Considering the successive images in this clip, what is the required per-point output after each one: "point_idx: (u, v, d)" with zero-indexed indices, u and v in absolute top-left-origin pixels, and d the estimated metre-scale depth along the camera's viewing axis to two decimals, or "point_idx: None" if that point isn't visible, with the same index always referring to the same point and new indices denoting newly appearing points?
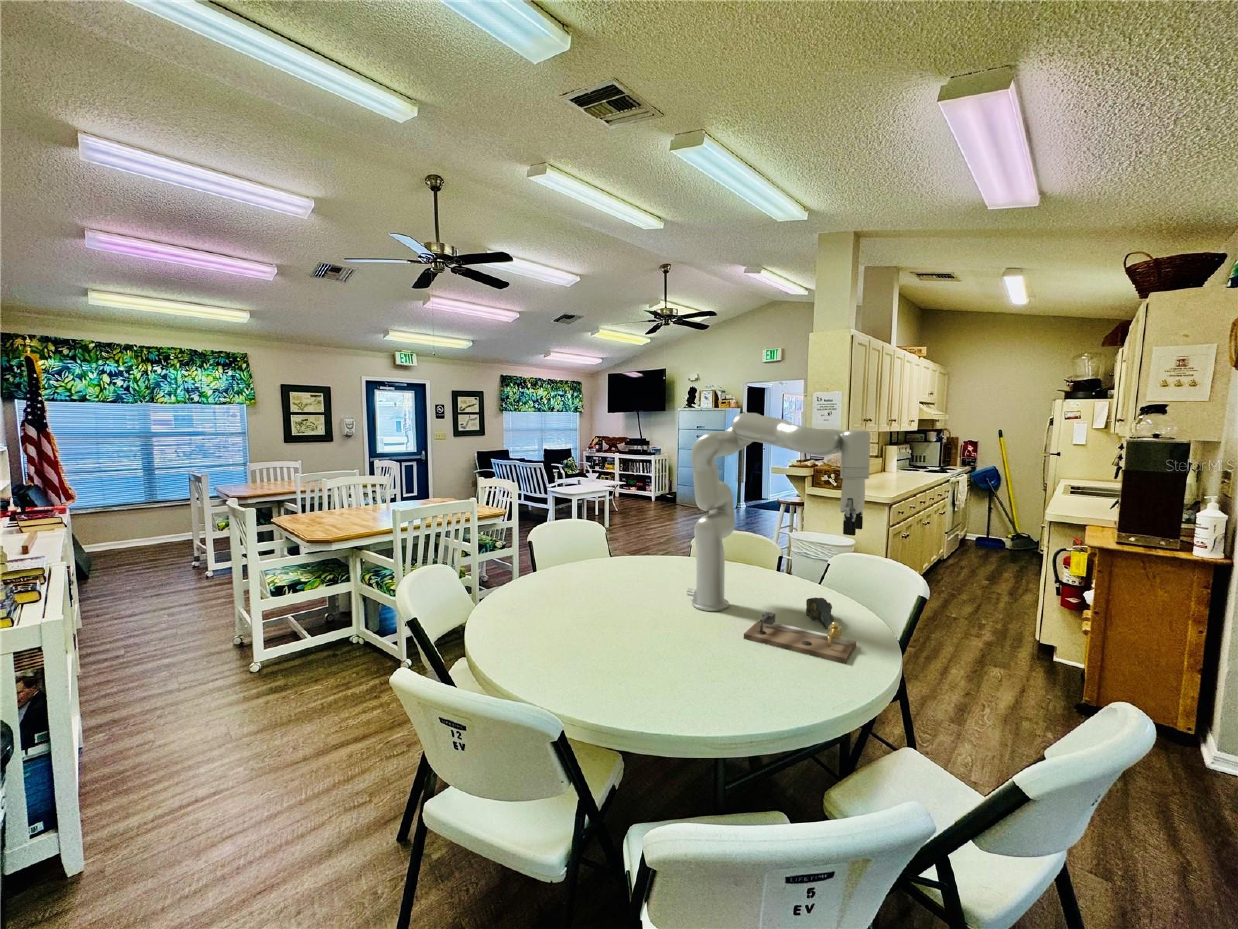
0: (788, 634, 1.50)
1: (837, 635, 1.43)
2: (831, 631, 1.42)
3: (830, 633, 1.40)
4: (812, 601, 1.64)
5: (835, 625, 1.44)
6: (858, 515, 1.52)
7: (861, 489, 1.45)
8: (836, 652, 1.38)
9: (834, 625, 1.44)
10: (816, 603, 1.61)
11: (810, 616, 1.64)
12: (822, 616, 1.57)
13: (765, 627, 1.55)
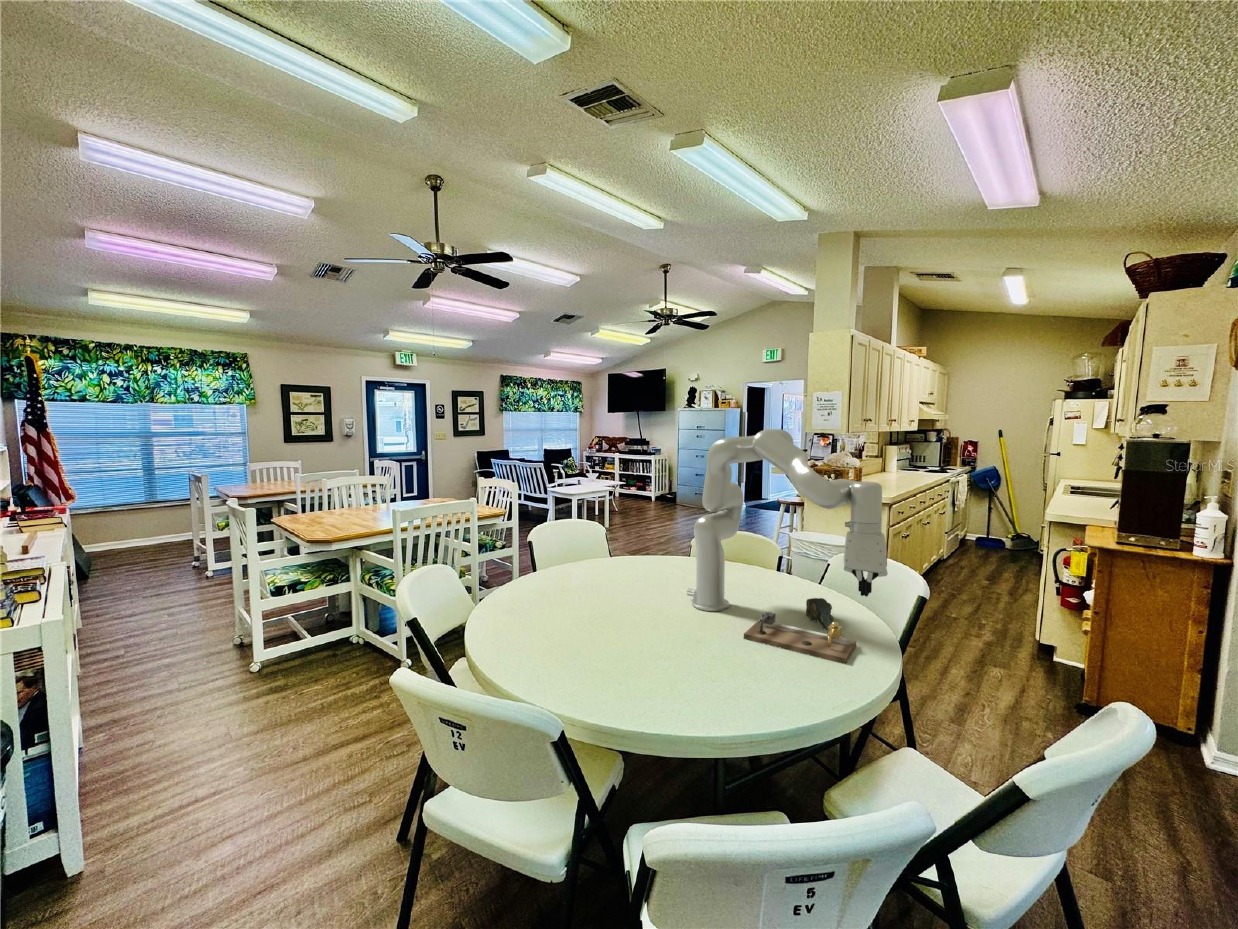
0: (788, 634, 1.50)
1: (837, 635, 1.43)
2: (831, 631, 1.42)
3: (830, 633, 1.40)
4: (812, 601, 1.64)
5: (835, 625, 1.44)
6: (864, 579, 1.40)
7: None
8: (836, 652, 1.38)
9: (834, 625, 1.44)
10: (816, 603, 1.61)
11: (810, 616, 1.64)
12: (822, 616, 1.56)
13: (765, 627, 1.55)
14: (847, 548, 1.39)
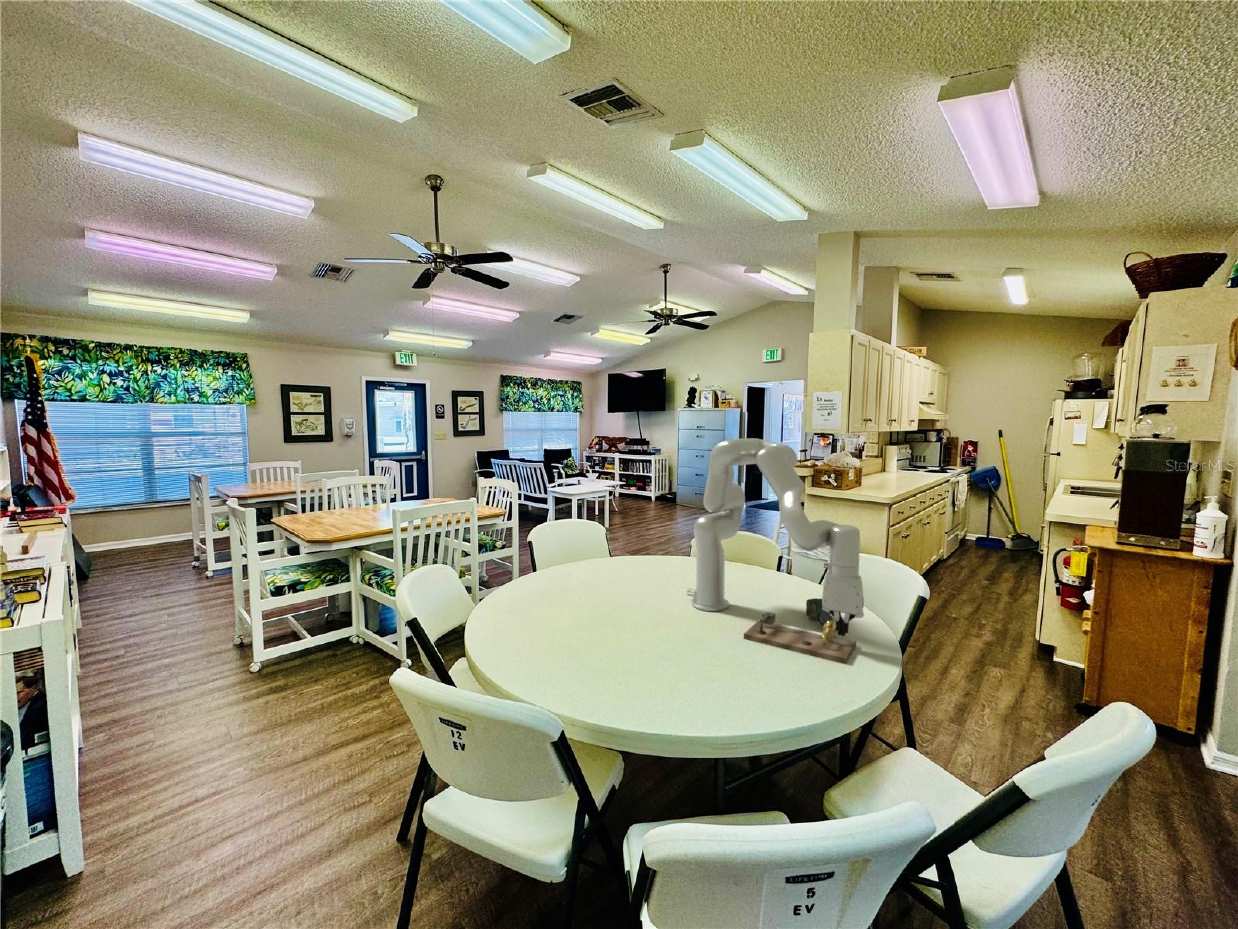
0: (788, 634, 1.50)
1: (832, 634, 1.44)
2: (826, 630, 1.42)
3: (825, 632, 1.41)
4: (812, 602, 1.64)
5: (830, 624, 1.45)
6: (842, 619, 1.44)
7: None
8: (836, 652, 1.38)
9: (829, 624, 1.45)
10: (815, 604, 1.61)
11: (810, 617, 1.63)
12: (821, 617, 1.56)
13: (765, 627, 1.55)
14: (825, 589, 1.43)
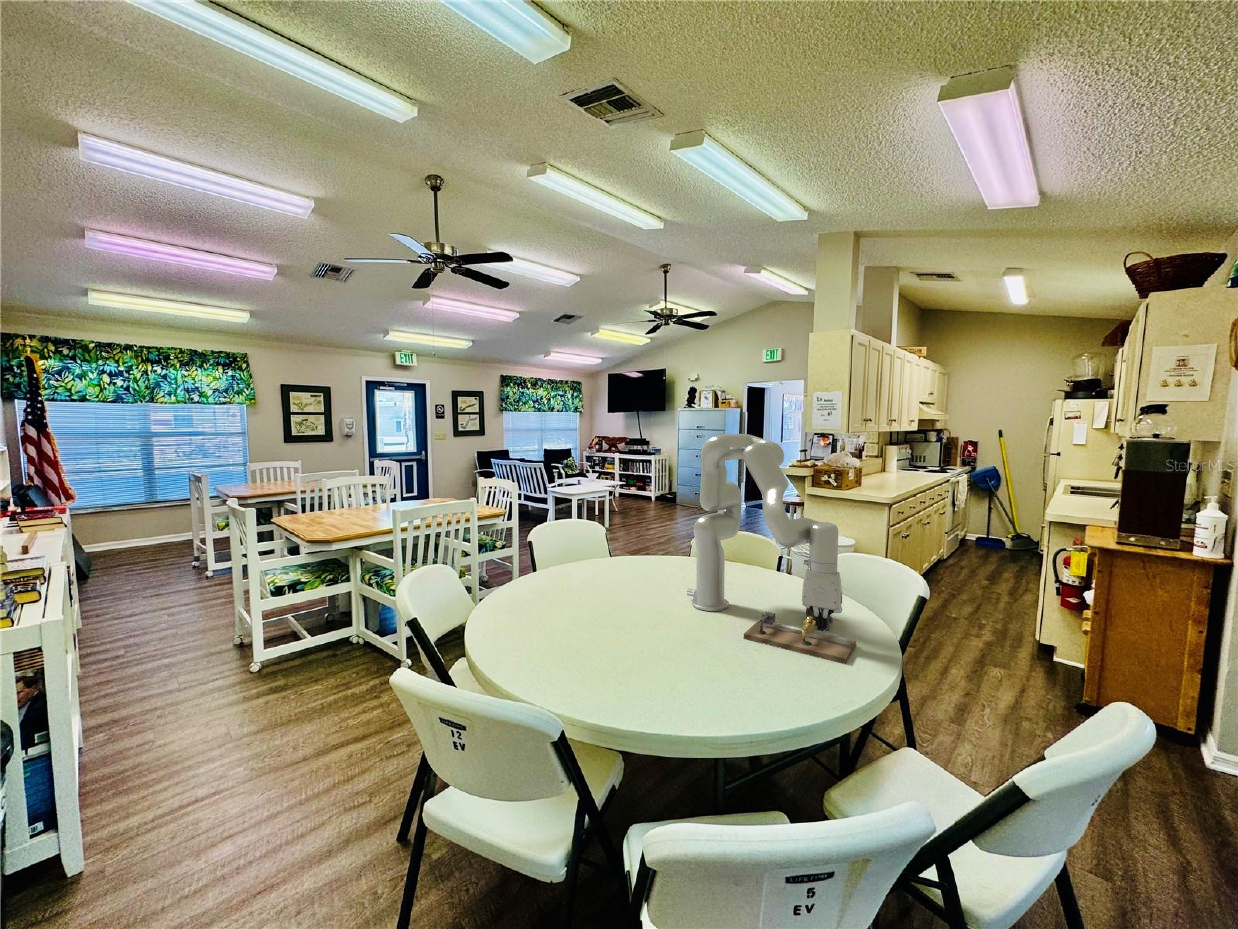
0: (788, 634, 1.50)
1: (812, 629, 1.47)
2: (805, 625, 1.46)
3: (804, 627, 1.44)
4: None
5: (810, 620, 1.48)
6: (821, 614, 1.47)
7: None
8: (836, 652, 1.38)
9: (809, 620, 1.48)
10: None
11: None
12: None
13: (765, 627, 1.55)
14: (805, 585, 1.46)
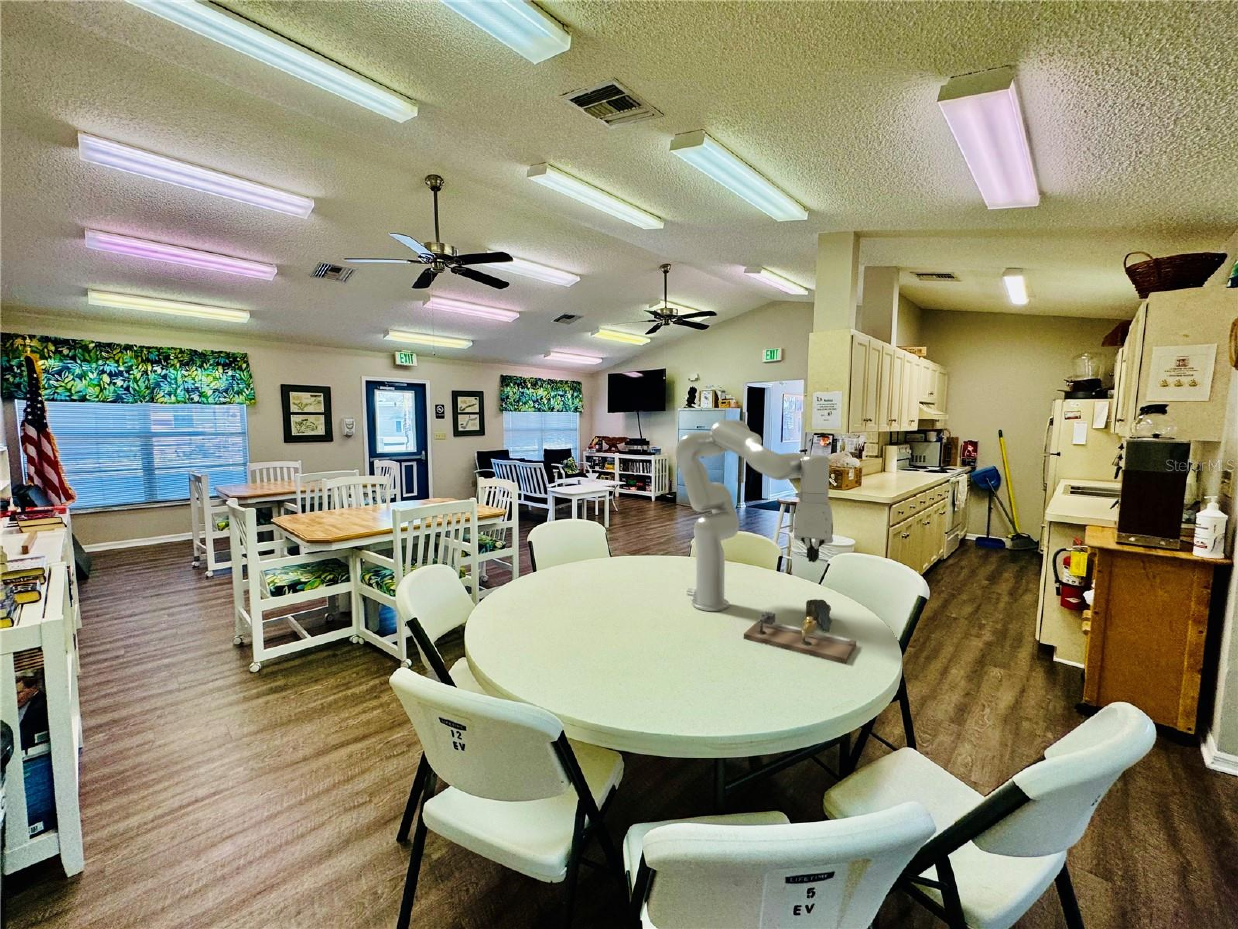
0: (788, 634, 1.50)
1: (811, 629, 1.47)
2: (805, 625, 1.46)
3: (804, 627, 1.44)
4: (811, 603, 1.63)
5: (810, 620, 1.48)
6: (812, 546, 1.49)
7: None
8: (836, 652, 1.38)
9: (809, 620, 1.48)
10: (815, 605, 1.60)
11: None
12: (819, 618, 1.55)
13: (765, 627, 1.55)
14: (796, 517, 1.48)
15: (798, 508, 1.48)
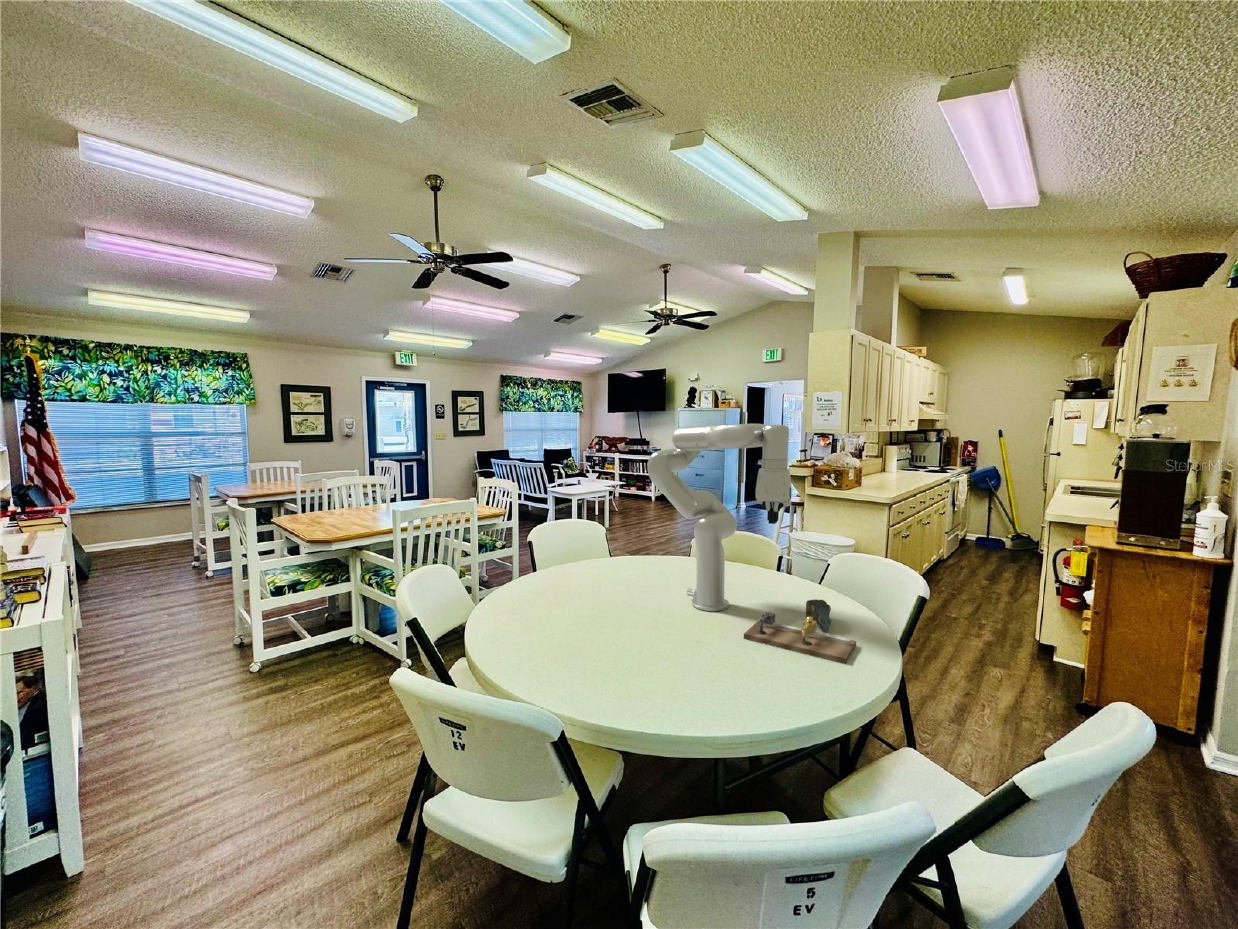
0: (788, 634, 1.50)
1: (811, 629, 1.47)
2: (805, 625, 1.46)
3: (804, 627, 1.44)
4: (811, 603, 1.63)
5: (810, 620, 1.48)
6: None
7: None
8: (836, 652, 1.38)
9: (809, 620, 1.48)
10: (814, 605, 1.60)
11: None
12: (819, 618, 1.55)
13: (765, 627, 1.55)
14: (758, 482, 1.60)
15: (760, 474, 1.59)
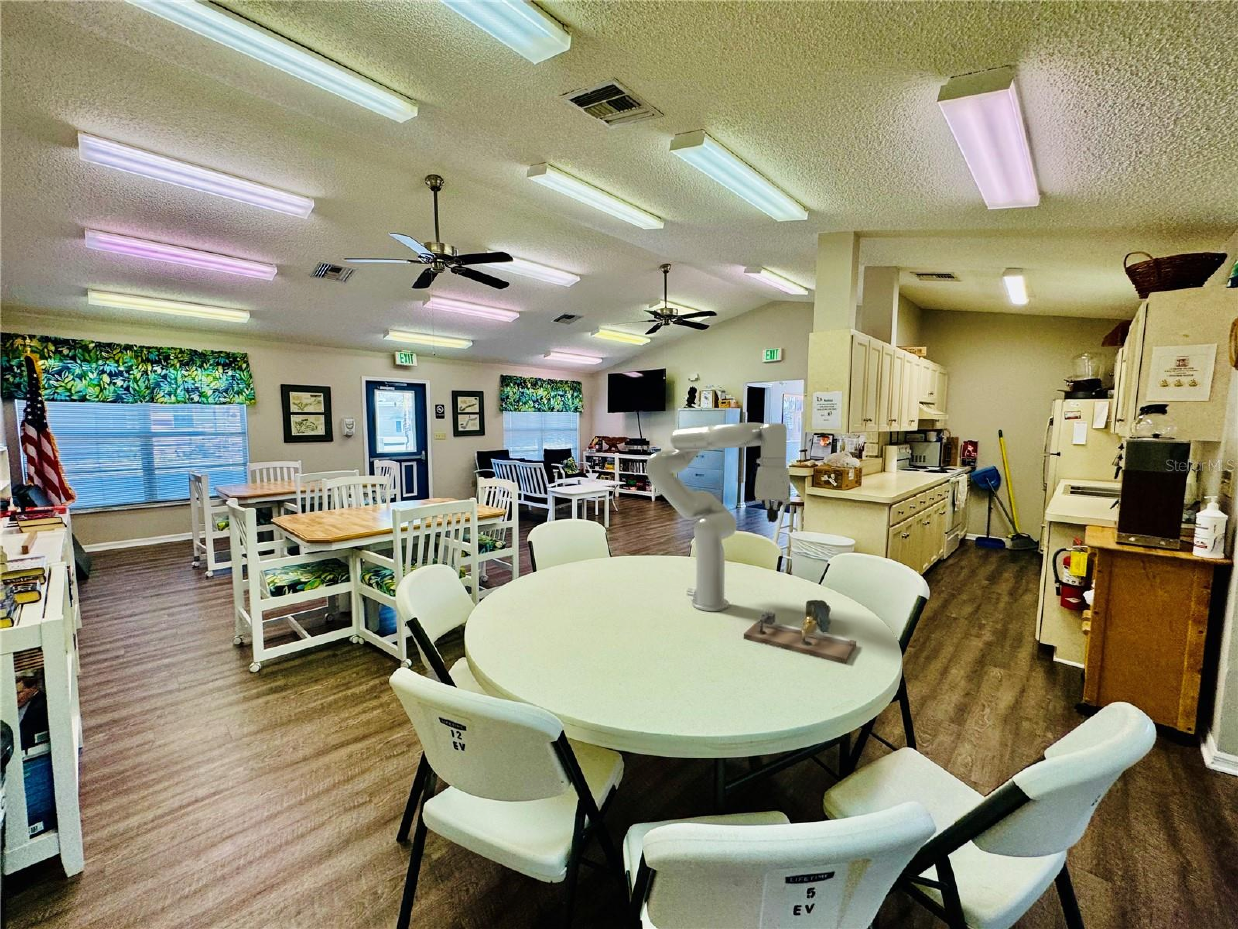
0: (788, 634, 1.50)
1: (811, 629, 1.47)
2: (805, 625, 1.46)
3: (804, 627, 1.44)
4: (811, 603, 1.62)
5: (810, 620, 1.48)
6: (772, 508, 1.61)
7: None
8: (836, 652, 1.38)
9: (809, 620, 1.48)
10: (814, 605, 1.59)
11: None
12: (819, 618, 1.55)
13: (765, 627, 1.55)
14: (757, 480, 1.60)
15: (758, 472, 1.60)
